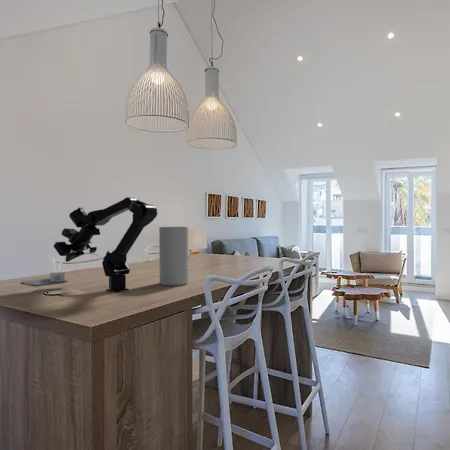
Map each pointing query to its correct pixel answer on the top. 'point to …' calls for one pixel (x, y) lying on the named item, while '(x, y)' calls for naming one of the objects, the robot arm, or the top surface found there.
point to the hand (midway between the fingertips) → (66, 261)
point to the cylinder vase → (173, 255)
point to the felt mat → (42, 282)
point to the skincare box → (57, 275)
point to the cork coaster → (72, 293)
